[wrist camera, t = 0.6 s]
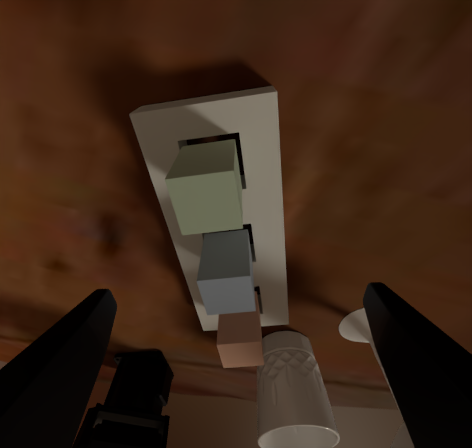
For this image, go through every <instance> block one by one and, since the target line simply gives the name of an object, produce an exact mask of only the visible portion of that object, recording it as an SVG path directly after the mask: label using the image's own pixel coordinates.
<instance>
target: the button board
mask: <svg viewBox="0 0 472 448" xmlns="http://www.w3.org/2000/svg"><path fill="white" fill-rule="evenodd" d="M129 116H130V119H131V121H132V124H133V127H134V130H135V133H136V136H137V139H138V142H139V145H140V148H141V151H142V153H143V156H144V159H145V162H146V165H147V168H148V171H149V174H150V177H151V180H152V183H153V185H154V188H155V191H156V194H157V197H158V200H159V203H160V206H161V209H162V212H163V215H164V217H165V220H166V223H167V226H168V229H169V232H170V235H171V238H172V241H173V244H174V247H175V249H176V252H177V255H178V258H179V261H180V264H181V267H182V270H183V273H184V276H185V279H186V282H187V284H188V287H189V290H190V293H191V296H192V299H193V302H194V305H195V308H196V311H197V314H198V316H199V319H200V322H201V325H202V328H203V331H211V330H218V317H219V314H217V315H207V313H206V310H205V306H204V303H203V300H202V297H201V294H200V291H199V287H198V284H197V276H198V270H199V264H200V258H201V252H202V247H203V241H204V235H205V234H209V232H208V233H199V234H190V235H182V233H181V230H180V227H179V224H178V220H177V217H176V214H175V211H174V208H173V204H172V201H171V198H170V195H169V192H168V189H167V185H166V182H165V178H166V176H167V174H168V172H169V170H170V169H171V167H172V165H173V163H174V161H175V159H176V157H177V155H178V154H179V152H180V150H181V148H182V146H188V145H187V141H186V140H188V139H195V138H202V137H209V136H216V135H223V134H230V133H237V132H239V136H240V143H241V151H242V158H243V166H244V173H245V175H240V178H241V185H242V210H243V224H251V226H252V234H253V241H254V244H250V248H251V255H252V262H253V277H254V287H256V286H259V287H260V294H261V295H257V297H258V304H259V311H260V320H261V326H273V325H285V324H289V317H288V297H287V277H286V258H285V238H284V218H283V199H282V179H281V159H280V139H279V120H278V100H277V91H276V89H275V88H274V87H273V86H267V87H261V88H255V89H248V90H242V91H235V92H229V93H222V94H216V95H209V96H203V97H197V98H190V99H184V100H177V101H171V102H164V103H158V104H151V105H145V106H141V107H139V108H138V109H136V110H135V111H133V112H131V113H130V114H129Z"/></svg>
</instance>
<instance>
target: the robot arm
mask: <svg viewBox="0 0 472 448" xmlns="http://www.w3.org/2000/svg"><path fill="white" fill-rule="evenodd" d="M363 305H364V309H365V312H366V316H367V320H368V323H369V327H370V331H371V334H372V338H373V342H374V345H375V348H376V351H377V354H378V356H379V359H380V361H381V364H382V367H383V369H384V372H385V374H386V377H387V379H388V382H389V384H390V387H391V389H392V392H393V394H394V397H395V400H396V402H397V405H398V407H399V410H400V412H401V415H402V417H403V420H404V422H405V425H406V427H407V430H408V433H409V435H410V438H411V440H412V443H413V445H414V448H472V354H470V353H469V352H468V351H467V350H465V349H464V348H463V347H462V346H461V345H459V344H458V343H457V342H456V341H454V340H453V339H452V338H451V337H449V336H448V335H447V334H446V333H444V332H443V331H442V330H441V329H439V328H438V327H437V326H436V325H434V324H433V323H432V322H431V321H429V320H428V319H427V318H426V317H424V316H423V315H422V314H421V313H419V312H418V311H417V310H416V309H414V308H413V307H412V306H411V305H410V304H408V303H407V302H406V301H405V300H403V299H402V298H401V297H400V296H398V295H397V294H396V293H395V292H393V291H392V290H391V289H390V288H388V287H387V286H386V285H385V284H383V283H381V282H372V283H369V284H368V285H367V288H366V291H365V294H364V297H363ZM116 311H117V304H116V301H115V299H114V297H113V295H112V293H111V291H110V290H109V289H97V290H95V291H94V292H93V293H91V294H90V295H89V296H88V297H87V298H85V299H84V300H83V301H82V302H81V303H79V304H78V305H77V306H76V307H75V308H73V309H72V310H71V311H70V312H69V313H67V314H66V315H65V316H64V317H63V318H61V319H60V320H59V321H58V322H57V323H55V324H54V325H53V326H52V327H51V328H49V329H48V330H47V331H46V332H45V333H43V334H42V335H41V336H40V337H39V338H37V339H36V340H35V341H34V342H33V343H31V344H30V345H29V346H28V347H27V348H25V349H24V350H23V351H22V352H21V353H19V354H18V355H17V356H16V357H15V358H13V359H12V360H11V361H10V362H9V363H7V364H6V365H5V366H4V367H3V368H2V369H1V370H0V448H166V444H167V436H168V426H169V418H170V417H169V416H167V415H165V416H162V415H161V413H162V407H163V406H166V405H167V402H168V397H169V392H170V387H171V382H172V379H173V377H174V375H173V372H172V370H171V368H170V366H169V364H168V363H167V361H166V359H165V357H164V355H163V354H162V352H159V351H157V352H143V353H130V354H117V355H115V356H114V361H115V362H116V364H117V365H118V367H117V370H116V373H115V375H114V378H113V381H112V383H111V386H110V389H109V391H108V394H107V397H106V399H105V402H104V405H101V404H100V403H97V404H96V407H94V408H89V409H88V412H87V414H86V416H85V419H84V421H83V424H82V426H81V428H80V430H79V433H78V435H77V437H76V434H77V431H78V428H79V425H80V423H81V420H82V417H83V415H84V412H85V409H86V406H87V403H88V401H89V398H90V395H91V393H92V390H93V387H94V384H95V382H96V379H97V376H98V373H99V370H100V368H101V365H102V362H103V359H104V357H105V354H106V350H107V347H108V343H109V339H110V335H111V331H112V327H113V323H114V319H115V315H116ZM94 426H95V427H94ZM75 437H76V439H75ZM74 439H75V441H74ZM73 442H74V444H73ZM72 445H73V446H72Z"/></svg>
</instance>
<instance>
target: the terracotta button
mask: <svg viewBox="0 0 472 448" xmlns="http://www.w3.org/2000/svg"><path fill="white" fill-rule="evenodd" d="M254 292H255V307H256V311H252V312H240V313H229V314H219V317H218V332H217V348H218V351H219V354H220V357H221V361H222V364H223V367H224V368H231V367H245V366H260V365H264V357H263V345H262V333H261V320H260V311H259V304H258V297H257V291H254Z"/></svg>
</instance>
